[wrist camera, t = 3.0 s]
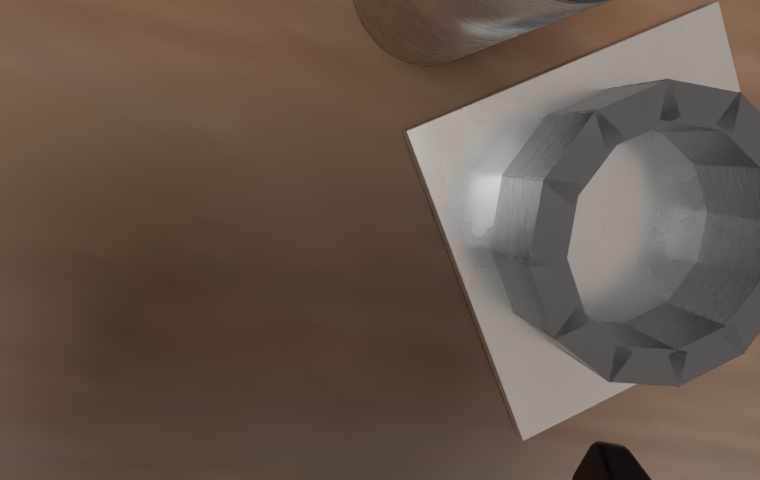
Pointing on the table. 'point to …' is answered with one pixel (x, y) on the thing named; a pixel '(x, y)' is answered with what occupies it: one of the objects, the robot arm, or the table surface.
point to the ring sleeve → (604, 219)
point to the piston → (456, 24)
